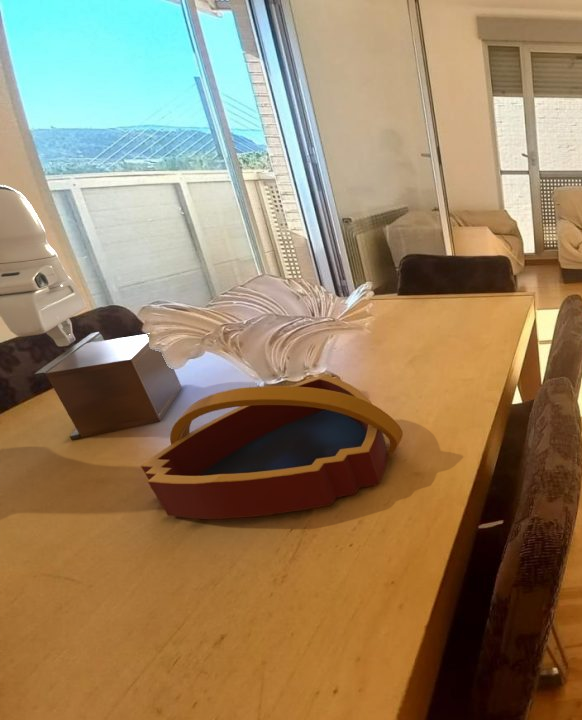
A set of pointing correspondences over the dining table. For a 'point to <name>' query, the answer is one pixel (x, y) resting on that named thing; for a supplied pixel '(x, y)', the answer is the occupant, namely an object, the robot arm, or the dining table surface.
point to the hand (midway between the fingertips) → (67, 343)
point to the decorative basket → (273, 451)
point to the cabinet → (112, 384)
